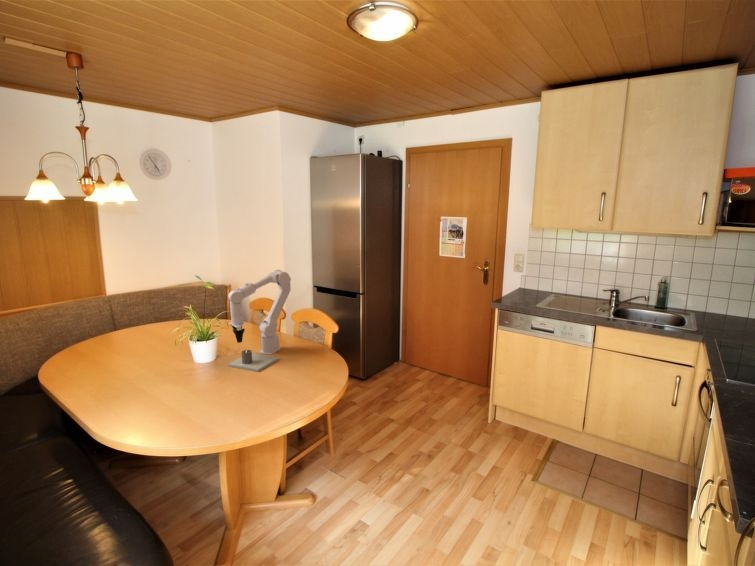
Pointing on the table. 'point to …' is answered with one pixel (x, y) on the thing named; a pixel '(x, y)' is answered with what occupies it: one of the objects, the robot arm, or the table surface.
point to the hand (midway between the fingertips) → (238, 340)
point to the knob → (247, 356)
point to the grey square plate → (254, 362)
